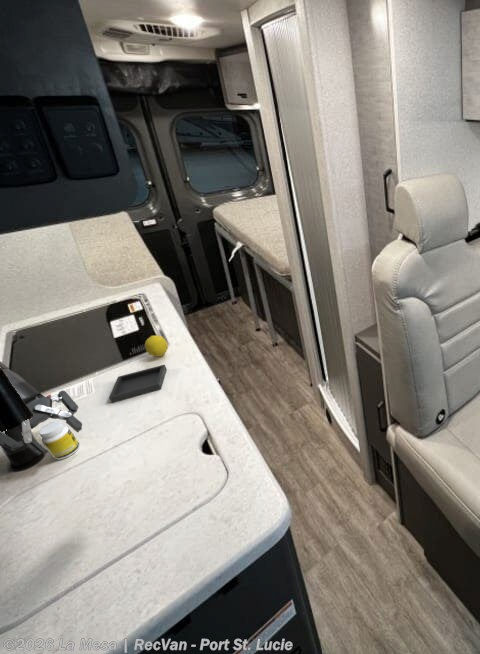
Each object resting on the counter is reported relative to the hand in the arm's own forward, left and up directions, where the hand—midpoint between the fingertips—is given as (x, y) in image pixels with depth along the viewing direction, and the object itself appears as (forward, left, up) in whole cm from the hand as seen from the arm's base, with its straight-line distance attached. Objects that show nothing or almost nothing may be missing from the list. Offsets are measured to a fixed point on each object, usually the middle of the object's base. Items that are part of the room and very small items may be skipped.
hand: (63, 441), depth 91 cm
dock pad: (+10, +21, -4) cm, 23 cm away
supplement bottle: (-1, +1, -5) cm, 5 cm away
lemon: (+13, +34, -5) cm, 37 cm away
